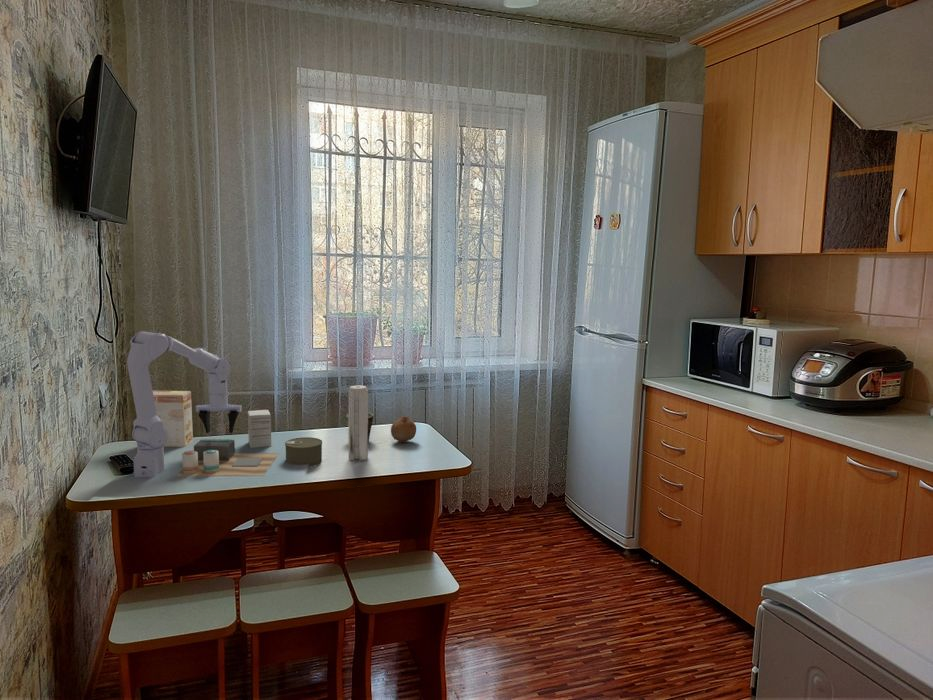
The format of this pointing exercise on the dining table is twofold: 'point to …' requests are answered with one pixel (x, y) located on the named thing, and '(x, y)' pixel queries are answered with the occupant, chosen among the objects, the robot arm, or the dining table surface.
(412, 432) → the onion
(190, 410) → the coffeecake box
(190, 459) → the cylinder
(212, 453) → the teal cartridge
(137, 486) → the dining table surface
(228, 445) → the box
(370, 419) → the ceramic cup
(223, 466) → the board
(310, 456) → the can
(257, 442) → the supplement box
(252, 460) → the mat
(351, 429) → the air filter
